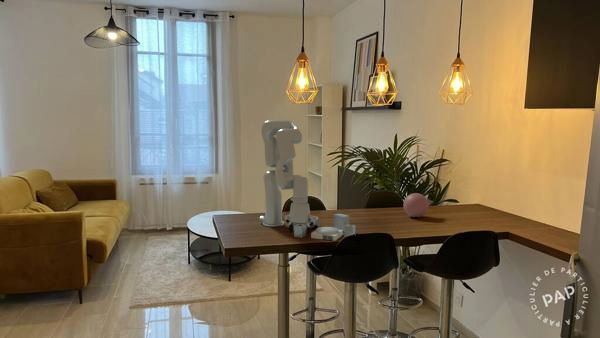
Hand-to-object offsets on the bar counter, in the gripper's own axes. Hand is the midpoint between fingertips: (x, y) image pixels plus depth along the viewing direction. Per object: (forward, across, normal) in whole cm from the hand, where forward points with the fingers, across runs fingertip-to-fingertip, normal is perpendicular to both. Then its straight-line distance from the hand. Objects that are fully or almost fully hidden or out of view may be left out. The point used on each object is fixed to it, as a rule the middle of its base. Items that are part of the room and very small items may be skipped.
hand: (299, 233), depth 220 cm
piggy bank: (+2, +51, +75) cm, 91 cm away
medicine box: (+2, +16, +21) cm, 26 cm away
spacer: (+2, +24, +10) cm, 26 cm away
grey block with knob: (+2, 0, 0) cm, 2 cm away
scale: (+2, +13, +6) cm, 14 cm away
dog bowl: (+2, -6, +21) cm, 22 cm away
